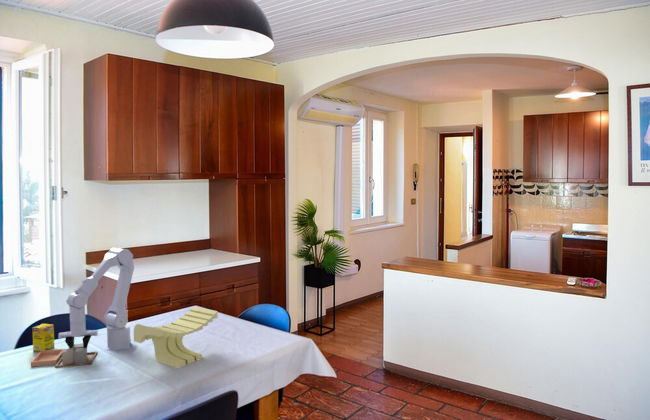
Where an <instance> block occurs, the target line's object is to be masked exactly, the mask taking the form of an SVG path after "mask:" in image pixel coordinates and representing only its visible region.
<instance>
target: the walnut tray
mask: <svg viewBox="0 0 650 420" xmlns="http://www.w3.org/2000/svg"><path fill="white" fill-rule="evenodd" d="M97 355H98V351H87V361H86V363H76V364H74V363H71V364H65V365H63V364H62V357H61V359H60V360H59V361H58V363H57V364H56V365H54V369H55V368H56V369H57V368H66V367H77V366H78V367H79V366H90V365H93V362H94V360H95V358H96V357H97Z"/></svg>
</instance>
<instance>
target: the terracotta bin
mask: <svg viewBox="0 0 650 420" xmlns="http://www.w3.org/2000/svg"><path fill="white" fill-rule="evenodd" d="M62 349H63V348H59V349H50V350H42V351H40V352H37V354H36V356H35V357H34V358H33V359H31V361H30V367H31V368H32V367H34V368H35V367H44V366H55V365H56V364H57V363H58V361H59V360H60V359H61V357H62Z"/></svg>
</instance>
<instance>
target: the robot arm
mask: <svg viewBox="0 0 650 420" xmlns="http://www.w3.org/2000/svg"><path fill="white" fill-rule="evenodd" d="M133 258H134V254H133V253H132V252H131V250H129V249H127V248H119V247H116V246H113V247H111V248H110V249H109V250H108V252H106V253H105V254H104V257H103V260H102V261H101V262H100V264H99V265H98V266H97V268H96V269H95V271H94V272H93V273H92V274H91V276H89V277H85V278H83V279H82V280H81V283H80V285H79V286H78V287H77V289H74V292H72V293H70V294H69V295H68V297H67V299H66V300H65V301H66V304H67V305H68V306H69V328H70V329H69V330H70V331H64V332H59V333H58V334H57V335H58V337H57V338H58V339H59V340H60V339H65V340H64V342H65V343H66V344H67V347H68V349H69V348H72V347H73V346H74V344H75V338H79V337H81V338H82V344H83V346H84V348H87V349H88V345H89V342H90V340H91V338H92V336H94V337H97V336H98V334H99V333H98V331H99V330H97V329H87V328H86V305H88V301H89V297H90V296H91V295H92V294H93V292H94V291H95V290H96V288H97V287H98V286H99V280H101V278H103V276H104V275H105V274H106V273H107V272H108V271H109V269H110V268H111V267H112V268H113V267H116V266H117V267H118V268H119V275H118V279H117V283H116V287H115V291H114V295H113V298H112V299H113V300H112V304H111V305H110V306H109V307H108V308H107V311H106V313H105V314H104V316H103V322H104V324H105V325H106V337H107V339H106V340H107V341H106V343H107V346H106V347H105V351H110V350H114V351H115V350H124V349H125V350H126V349H129V348H130V345H131V341H132V339H131V327H130V326H126V325H127V323H128V309H127V308H126V303H127V299H128V295H129V292H130V287H131V282H132V279H133V274H134V270H135V265H134V261H133Z"/></svg>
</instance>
